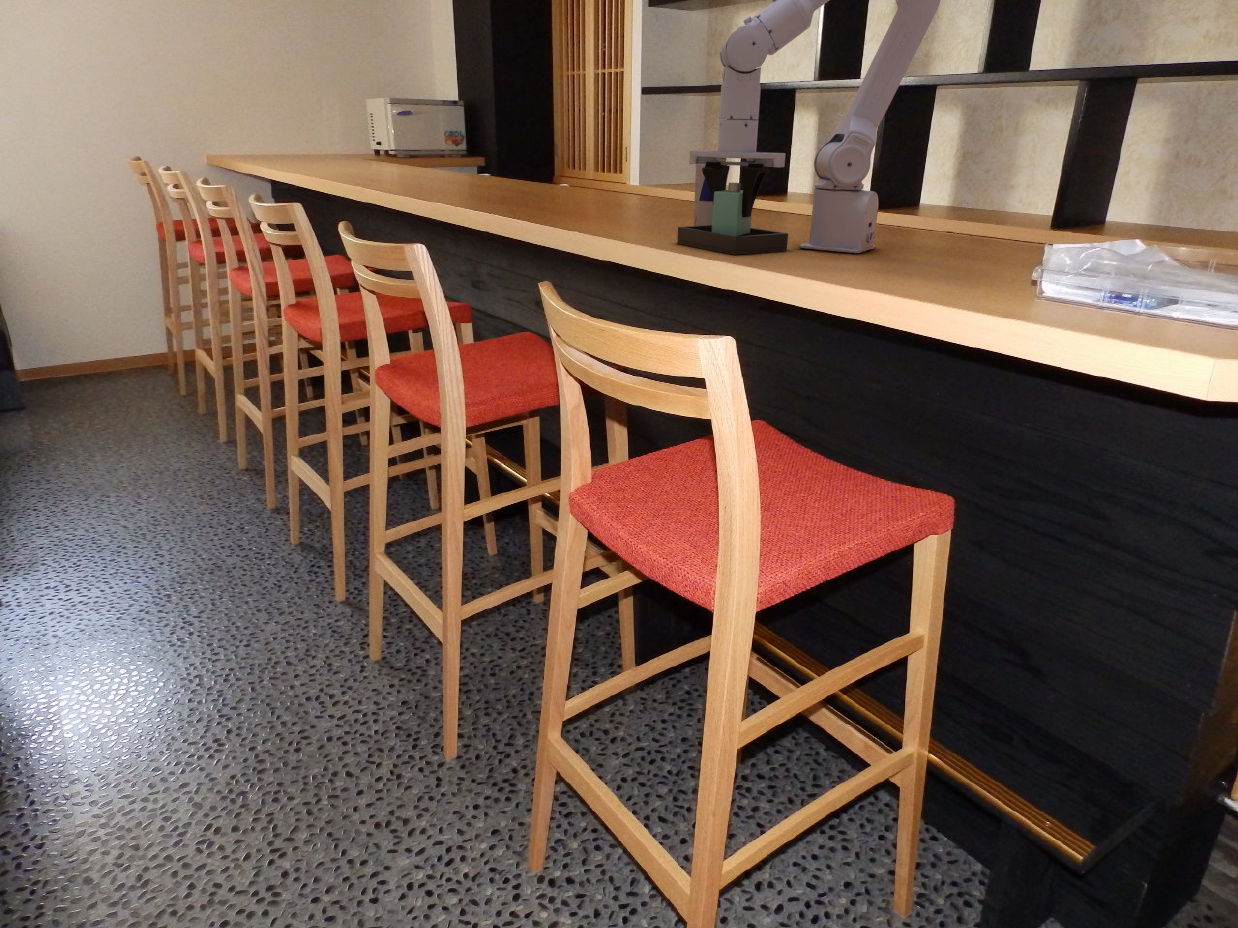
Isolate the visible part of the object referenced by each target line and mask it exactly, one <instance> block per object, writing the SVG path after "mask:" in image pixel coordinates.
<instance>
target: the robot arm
mask: <svg viewBox="0 0 1238 928" xmlns="http://www.w3.org/2000/svg"><path fill="white" fill-rule="evenodd" d="M829 1H830V0H772V2H771V3H770V4H768V5H767V6H766V7H764V8H763V9H762V10H760V12H758V13H757V14H755V15H754V16H753V17H752V16H751V15H748V16H747V17H746V18H745V19H743V24H744V25H740V26H737V28H736V29H735V30H734V31H733V32H731V34H729V35H728V36H727V37H726V39H724V41H723V43H722V47H721V51H720V52H719V59H720V63H721V65H722V67H723V71H722V76H721V78H722V85H721V86H720V101H719V102H720V103H719V116H718V117H719V118H718V119H719V121H718V136H717V137H718V139H717V150H694V149H693V150H690V151H689V163H688V164H689V165H696V164H706V165H705V168H702V173H703V175H704V177H705V179H706V182H707V184H708V187H709V190H710V193H711V197H712V202H713V203H714V192H716V191H723V190H727V182H728V181H727V180H728V177H729V173H730V166H737V167H738V166H742V167H741V177H742V178H741V179H742V190H743V199H742V217H750V216H751V212H752V213H753V209H754V205H755V201H756V199H757V197H758V193H759V191H760V189H761V187H762V185H763V183H764V182H765V179H766V178H767V176H768V175H769V173H770V172H769V171H770V169H769V168H785V166H786V165H785V164H786V153H785V152H767V151H766V152H763V151H757V146H758V133H759V117H760V104H761V103H760V102H761V91H762V90H761V88H762V87H761V74H762V66H763V65H764V63H765V62H766V59H767V57H768V56H773V55H775V54H777V52H779V51H780V50H781V49H783V48H784V47H785V46H787V45H788V44H789V43H791V42H792V41H794V40H795V39H796V38H797V37H799V36H800V35H802V33H804V32H806V31H807V30H808V29H810V28H811V25H812V20H813V16H814V13H815V11H817V10H818V9H820V8H822V6H824V5H825V4H827V3H828V2H829ZM895 3H896V5H897V10H896V11H895V14H894V16H893V18H892V19H891V22H890V24H889V26H888V28H887V30H886V32H885V34H884V36H883V38H882V41H881V42H880V45H879V47H878V48H877V50H876V53H875V54H874V56H873V59H872V60H871V63H870V65H869V66H868V69H867V71H866V73H865V74H864V77H863V79H862V81H861V83H860V85H859V87H858V89H857V92H856V93H855V96H854V97H853V99H852V102H851V104H850V106H849V108H848V110H847V111H846V114H845V116H844V118H843V119H842V120H841V121H840V123H838V124H837V126H836V128H835V129H834V131H833V132H832V135H831V137H830V138H829V139H828V141H826V142H825V143H824V144H823V145H821V146H820V148H819V149H818V150H817V151H816V154H815V156H814V160H813V168H814V172H815V174H816V176H817V177H818V180H817V182H816V183H815V184H814V188H813V198H812V209H811V218H810V219H811V220H810V230H809V238H808V239H809V241H808V242H805V243H801V244H799V245H798V247H799V249H805V250H806V249H807V250H816V251H817V250H819V251H828V252H838V253H839V252H840V253H850V254H860V253H861V254H862V253H864V252H867V251H870V250H874V249H875V248H876V245H875V239H876V230H877V223H878V222H877V221H878V215H879V214H878V213H879V195H878V193H877V192H876V191H874V190H864V186H865V185H864V183H863V181H864V180H865V178H866V177H867V175H868V174H869V172H870V169H871V163H872V161H871V160H872V153H873V150H874V148H875V147H876V144H877V137H878V136H877V135H878V134H877V133H878V128H879V126H880V125H881V122H882V121H883V118H884V117H885V114H886V112H887V110H888V109H889V106H890V105H891V102H892V100H893V99H894V96H895V94H896V93H897V91H898V89H899V87H900V85H901V83H902V81H903V78H904V76H905V75H906V73H907V71H908V69H909V67H910V66H911V63H912V62H913V61H912V60H913V59H914V57H915V55H916V53H917V51H918V49H919V47H920V45H921V43H922V41H923V39H924V37H925V35H926V33H927V32H928V29H929V27H930V25H931V24H932V21H933V19H934V17H935V15H936V14H937V11H938V10H939V7H940V4H941V0H895ZM727 159H745V160H746V161H729V160H727ZM718 160H726V161H718ZM726 165H727V166H726ZM743 166H744V167H743ZM751 217H752V216H751Z"/></svg>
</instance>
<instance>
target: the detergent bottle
mask: <svg viewBox="0 0 1238 928" xmlns="http://www.w3.org/2000/svg"><path fill="white" fill-rule="evenodd" d="M741 185H742V183H741V182H728V185H727V186H728V188H727V189H726V190H723V191H716V192H714V203H713V219H712V232H714V233H720V234H726V235H732V236H739V235H743V234H746V233H750V228H752V216H753V215H752V213H753V211H752V212H751V216H750V217H742V199H743V189H741Z"/></svg>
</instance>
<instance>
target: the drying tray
mask: <svg viewBox="0 0 1238 928" xmlns="http://www.w3.org/2000/svg"><path fill="white" fill-rule="evenodd" d="M788 241H789V233H788V232H782V231H776V230H769V229H764V228H757V227H751V228H750V233H746V234H743V235H739V236H732V235H726V234H720V233H714V232H712V225H702V226H694V225H688V226H678V227H677V241H676V242H677V243H676V244H677V245H682V246H688V247H692V248H697V249H700V250H701V249H702V250H706V251H712V252H717V253H721V254H725V255H726V254H727V255H732V256H741V255H754V254H766V253H768V254H769V253H778V252H779V253H780V252H787V251H788V243H789V242H788Z"/></svg>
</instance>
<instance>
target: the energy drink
mask: <svg viewBox="0 0 1238 928" xmlns="http://www.w3.org/2000/svg"><path fill="white" fill-rule="evenodd" d="M718 161H727V159H726V160H718ZM705 165H706V164H695V181H694V182H695V183H694V184H695V185H694V206H693V208H694V209H693V226H702V225H712V219H713V202H712V197H711V193H710V190H709V187H708V184H707V182H706V179H705V177H704V175H703V173H702V168H705ZM726 166H728V165H726Z"/></svg>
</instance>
